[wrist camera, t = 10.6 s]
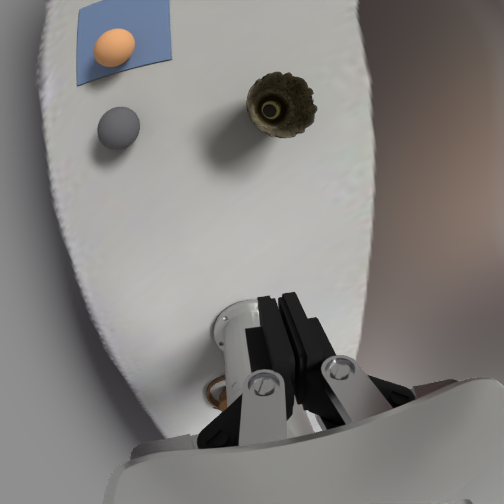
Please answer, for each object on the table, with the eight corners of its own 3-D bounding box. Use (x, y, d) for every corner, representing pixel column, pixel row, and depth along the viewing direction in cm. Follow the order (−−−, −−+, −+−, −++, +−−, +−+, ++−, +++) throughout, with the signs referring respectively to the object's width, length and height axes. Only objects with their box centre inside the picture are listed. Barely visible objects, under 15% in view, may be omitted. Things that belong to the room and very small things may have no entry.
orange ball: (116, 36, 21) (124, 15, 21) (81, 58, 22) (91, 35, 23) (140, 62, 26) (144, 39, 27) (105, 80, 27) (112, 56, 28)
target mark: (171, 59, 28) (171, 58, 28) (77, 85, 27) (77, 85, 27) (169, -18, 23) (168, -18, 23) (80, 9, 22) (79, 9, 22)
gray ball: (120, 101, 25) (133, 96, 29) (83, 126, 25) (99, 117, 30) (141, 141, 28) (151, 130, 32) (104, 163, 29) (117, 149, 33)
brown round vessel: (235, 89, 31) (240, 77, 24) (290, 80, 31) (308, 68, 24) (247, 142, 34) (255, 144, 27) (301, 132, 34) (322, 132, 27)
